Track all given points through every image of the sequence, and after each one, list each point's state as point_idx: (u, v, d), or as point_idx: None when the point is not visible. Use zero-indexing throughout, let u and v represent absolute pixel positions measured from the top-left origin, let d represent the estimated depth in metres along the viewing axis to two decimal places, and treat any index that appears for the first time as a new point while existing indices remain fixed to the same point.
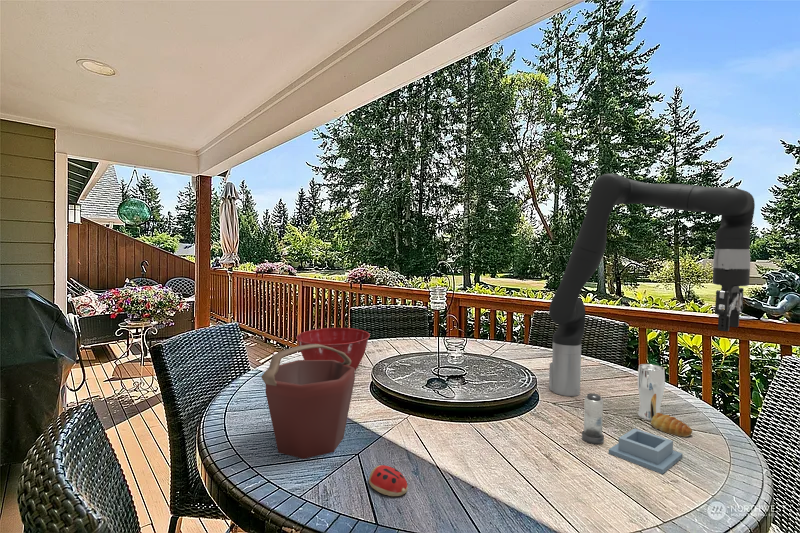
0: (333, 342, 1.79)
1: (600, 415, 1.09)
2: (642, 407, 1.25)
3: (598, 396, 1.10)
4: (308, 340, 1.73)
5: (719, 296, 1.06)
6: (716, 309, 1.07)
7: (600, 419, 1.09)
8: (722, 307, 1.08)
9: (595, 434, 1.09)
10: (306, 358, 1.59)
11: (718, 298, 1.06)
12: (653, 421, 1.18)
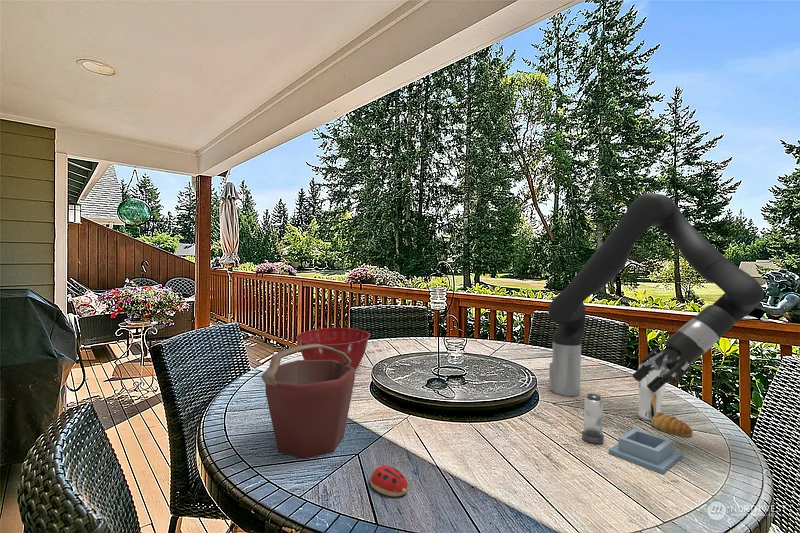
0: (333, 342, 1.79)
1: (600, 415, 1.09)
2: (642, 407, 1.25)
3: (598, 396, 1.10)
4: (308, 340, 1.73)
5: (682, 366, 1.01)
6: (670, 374, 1.01)
7: (600, 419, 1.09)
8: None
9: (595, 434, 1.09)
10: (306, 358, 1.59)
11: (680, 367, 1.01)
12: (653, 421, 1.19)
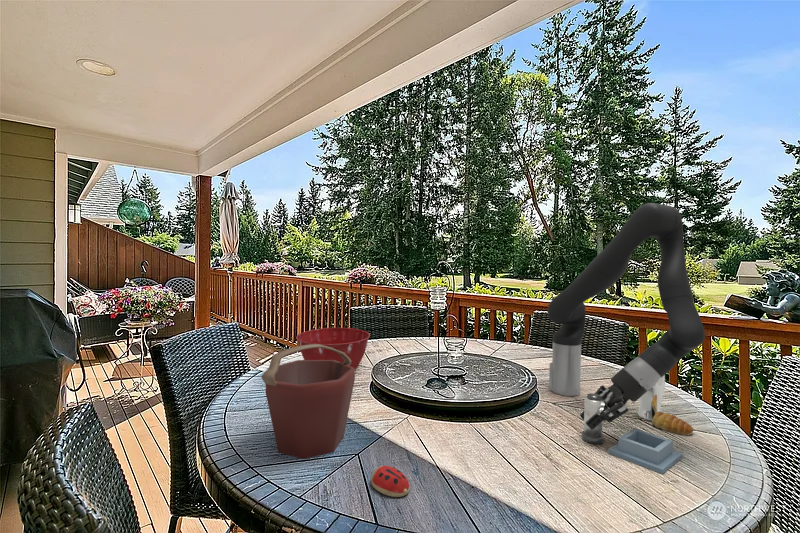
0: (333, 342, 1.79)
1: None
2: (642, 407, 1.25)
3: (598, 396, 1.10)
4: (308, 340, 1.73)
5: (618, 408, 1.04)
6: (606, 414, 1.05)
7: None
8: None
9: (595, 434, 1.09)
10: (306, 358, 1.59)
11: (616, 409, 1.04)
12: (655, 420, 1.19)
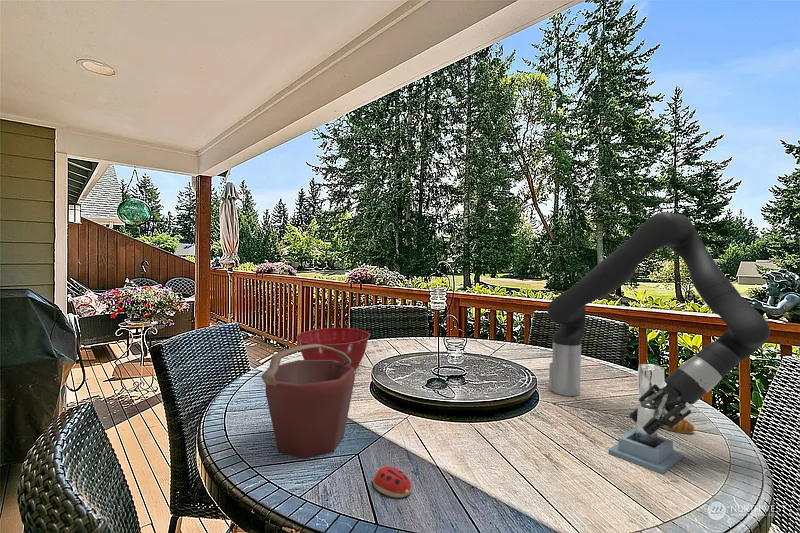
0: (333, 342, 1.79)
1: None
2: None
3: (653, 404, 1.02)
4: (308, 340, 1.73)
5: (681, 410, 0.95)
6: (667, 418, 0.96)
7: None
8: None
9: (649, 445, 1.01)
10: (306, 358, 1.59)
11: (678, 411, 0.95)
12: None
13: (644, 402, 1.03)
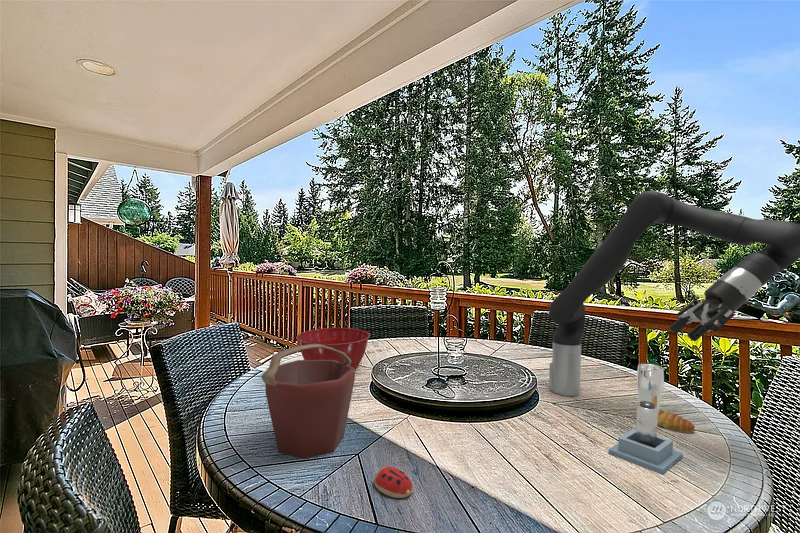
0: (333, 342, 1.79)
1: (655, 424, 1.01)
2: None
3: (652, 404, 1.02)
4: (308, 340, 1.73)
5: (725, 313, 0.98)
6: (713, 321, 0.98)
7: (655, 428, 1.01)
8: None
9: (649, 445, 1.01)
10: (306, 358, 1.59)
11: (723, 314, 0.98)
12: None
13: (643, 402, 1.03)
